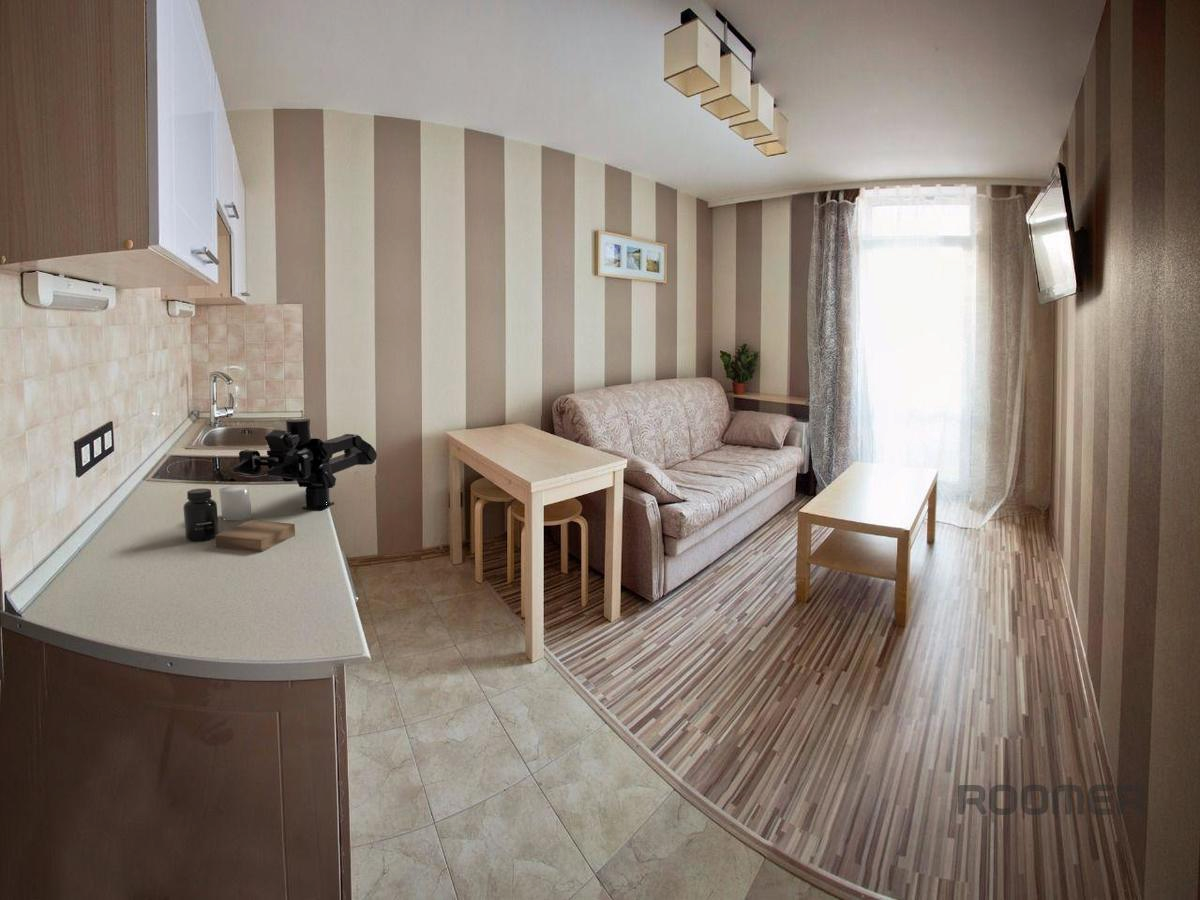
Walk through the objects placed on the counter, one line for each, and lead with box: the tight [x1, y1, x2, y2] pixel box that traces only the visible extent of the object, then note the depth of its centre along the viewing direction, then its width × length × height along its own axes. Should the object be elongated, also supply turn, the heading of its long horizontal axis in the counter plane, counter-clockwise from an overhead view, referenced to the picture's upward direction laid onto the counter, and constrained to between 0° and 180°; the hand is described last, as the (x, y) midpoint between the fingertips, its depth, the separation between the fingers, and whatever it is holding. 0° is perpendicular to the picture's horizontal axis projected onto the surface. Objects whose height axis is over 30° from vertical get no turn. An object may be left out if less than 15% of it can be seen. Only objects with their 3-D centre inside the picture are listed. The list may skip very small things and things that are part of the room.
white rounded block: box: [219, 484, 253, 521], centre depth 162 cm, size 7×7×8 cm
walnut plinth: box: [214, 519, 296, 553], centre depth 145 cm, size 12×12×3 cm
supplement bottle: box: [183, 487, 220, 542], centre depth 145 cm, size 7×7×12 cm
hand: (251, 471), depth 146 cm, fingers open, 9 cm apart
